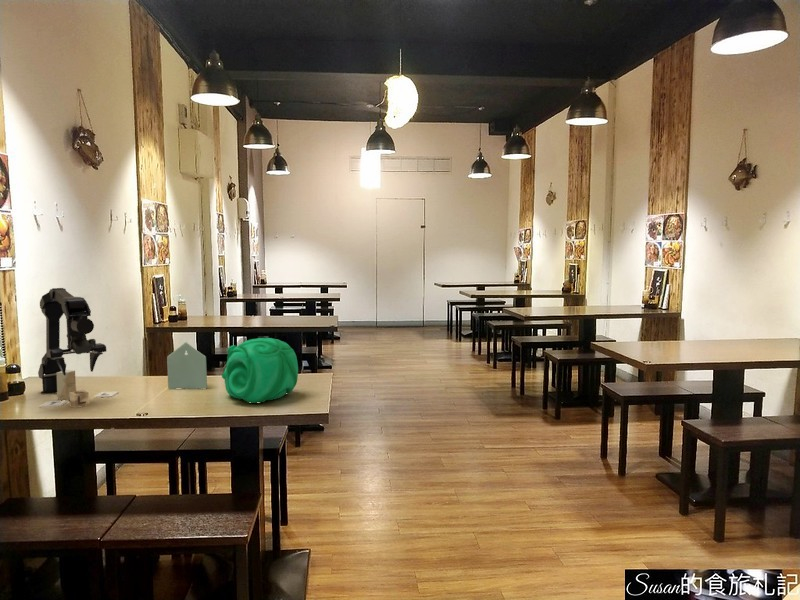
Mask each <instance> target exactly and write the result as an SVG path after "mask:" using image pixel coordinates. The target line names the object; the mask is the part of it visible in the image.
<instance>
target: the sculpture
mask: <svg viewBox="0 0 800 600" xmlns="http://www.w3.org/2000/svg"><path fill="white" fill-rule="evenodd" d="M226 359H227V360H226V365H225V369H224V370H223V372H222V373H221V374H222V375H221V378H222V379H223V380H224V386H225V390H226V393H227V394H228V395H229V396H231V397H233V398H234V399H237V398H238V399H237V400H240V399H243V401H244V402H246V401H247V402H246V403H248V402H251V403H257V402H263V403H264V402H265V401H266V400H268V401H273V399H274V400H277V398H278V399H279V398H282V397H284V396H285V395H287V394H286V393H289V394H290V393H291V392H292V391H293V390H294V388H295V387H296V385H297V384H298V380H299V379H298V376H299V364H298V363H299V362H298V359H297V354H296V352H295V350H294V349H293V348H292V347H291V346H290V345H289V344H288V343H287V342H286V341H282V340H280V339H278V338H277V339H276V338H272V337H258V338H252V339H251V338H250V339H248V340H245V341H243V342H241V343H239V344H238V345H230V346H229V347H228V348H227V357H226Z"/></svg>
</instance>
